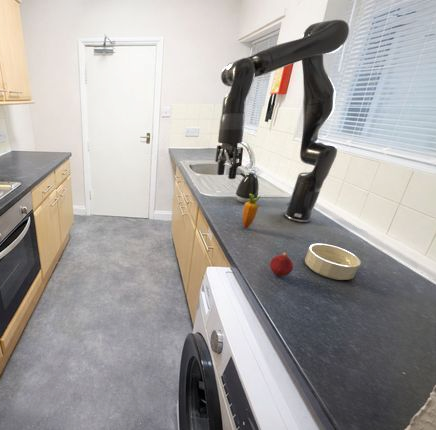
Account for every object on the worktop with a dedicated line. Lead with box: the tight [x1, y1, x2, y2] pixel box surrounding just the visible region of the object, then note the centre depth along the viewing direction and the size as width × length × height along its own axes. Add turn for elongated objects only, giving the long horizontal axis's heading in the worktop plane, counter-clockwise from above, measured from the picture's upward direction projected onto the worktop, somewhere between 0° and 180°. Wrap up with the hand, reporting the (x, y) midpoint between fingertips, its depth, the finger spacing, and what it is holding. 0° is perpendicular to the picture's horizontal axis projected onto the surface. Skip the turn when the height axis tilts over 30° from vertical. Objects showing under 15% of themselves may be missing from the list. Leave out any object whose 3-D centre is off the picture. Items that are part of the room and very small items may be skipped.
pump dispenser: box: [235, 172, 260, 204], centre depth 133 cm, size 10×10×15 cm
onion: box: [269, 252, 294, 277], centre depth 79 cm, size 6×6×8 cm
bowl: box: [304, 243, 362, 281], centre depth 83 cm, size 13×13×6 cm
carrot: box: [242, 194, 261, 229], centre depth 106 cm, size 5×5×15 cm
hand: (225, 176), depth 93 cm, fingers open, 8 cm apart
